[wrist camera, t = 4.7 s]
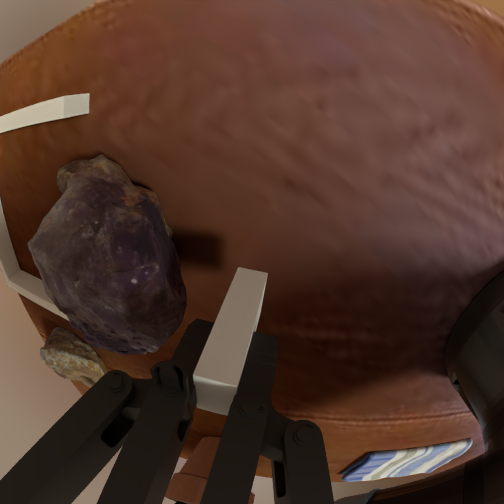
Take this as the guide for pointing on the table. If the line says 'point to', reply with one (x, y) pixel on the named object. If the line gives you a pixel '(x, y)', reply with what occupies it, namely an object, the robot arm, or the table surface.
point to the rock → (110, 259)
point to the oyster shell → (72, 357)
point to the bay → (3, 252)
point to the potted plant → (195, 474)
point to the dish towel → (405, 461)
